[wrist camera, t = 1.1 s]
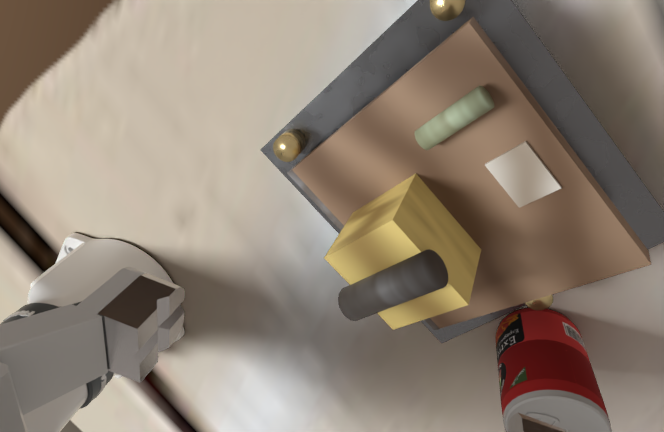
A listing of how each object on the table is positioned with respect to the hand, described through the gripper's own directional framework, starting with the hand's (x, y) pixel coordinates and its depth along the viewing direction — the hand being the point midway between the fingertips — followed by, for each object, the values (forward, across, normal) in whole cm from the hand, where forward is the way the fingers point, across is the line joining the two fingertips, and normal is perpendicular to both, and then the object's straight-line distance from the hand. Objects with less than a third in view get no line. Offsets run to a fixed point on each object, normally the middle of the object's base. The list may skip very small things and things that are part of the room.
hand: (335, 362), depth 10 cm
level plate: (+25, -4, +7) cm, 26 cm away
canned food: (+31, -17, +21) cm, 41 cm away
